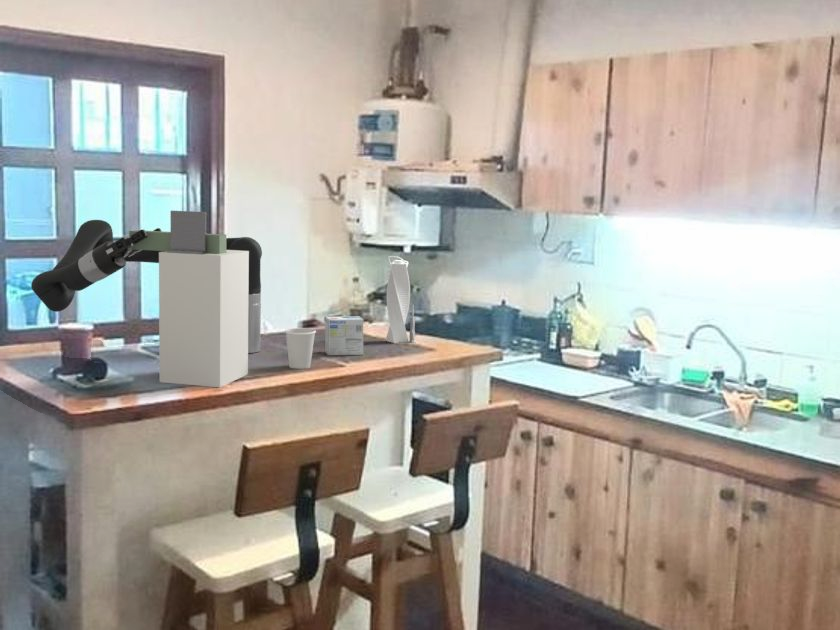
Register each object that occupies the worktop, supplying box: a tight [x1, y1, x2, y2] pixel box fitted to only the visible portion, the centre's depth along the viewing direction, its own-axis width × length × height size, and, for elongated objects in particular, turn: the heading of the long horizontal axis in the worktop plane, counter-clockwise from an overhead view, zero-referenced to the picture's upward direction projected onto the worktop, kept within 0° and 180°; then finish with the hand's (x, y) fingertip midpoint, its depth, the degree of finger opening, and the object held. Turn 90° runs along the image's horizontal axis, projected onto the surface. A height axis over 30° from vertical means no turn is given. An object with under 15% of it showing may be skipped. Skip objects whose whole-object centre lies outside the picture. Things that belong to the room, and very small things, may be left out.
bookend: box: [167, 210, 207, 254], centre depth 228 cm, size 3×9×10 cm, turn 77°
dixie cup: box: [284, 327, 317, 370], centre depth 257 cm, size 8×8×10 cm
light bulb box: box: [324, 315, 364, 356], centre depth 280 cm, size 11×7×11 cm, turn 105°
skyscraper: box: [385, 255, 416, 346], centre depth 301 cm, size 8×8×28 cm
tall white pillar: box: [158, 250, 249, 388], centre depth 237 cm, size 17×16×32 cm
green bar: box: [128, 229, 227, 254], centre depth 234 cm, size 4×24×4 cm, turn 77°
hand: (153, 232), depth 235 cm, fingers open, 7 cm apart
